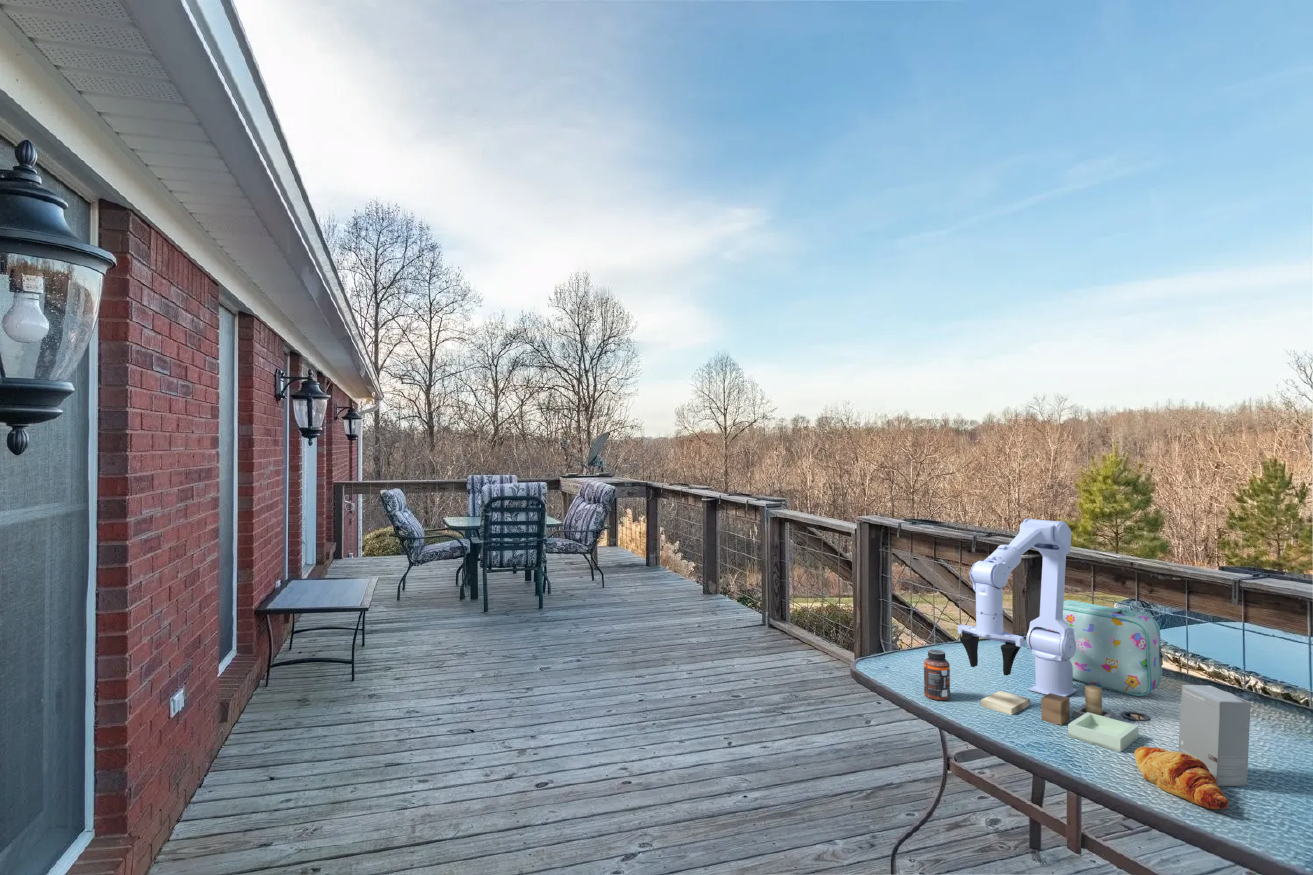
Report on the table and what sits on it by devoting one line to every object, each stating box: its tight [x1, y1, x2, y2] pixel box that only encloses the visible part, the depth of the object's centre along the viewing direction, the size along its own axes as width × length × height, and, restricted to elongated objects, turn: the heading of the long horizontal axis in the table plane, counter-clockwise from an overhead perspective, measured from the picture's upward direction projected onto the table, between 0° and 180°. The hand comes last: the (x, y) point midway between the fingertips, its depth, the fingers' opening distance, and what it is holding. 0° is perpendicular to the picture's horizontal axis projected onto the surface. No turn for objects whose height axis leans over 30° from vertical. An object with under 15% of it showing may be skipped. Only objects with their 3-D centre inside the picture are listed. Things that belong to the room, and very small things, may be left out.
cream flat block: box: [980, 690, 1031, 716], centre depth 156 cm, size 10×7×2 cm
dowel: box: [1084, 684, 1103, 716], centre depth 148 cm, size 3×3×7 cm
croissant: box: [1133, 746, 1230, 810], centre depth 118 cm, size 21×10×8 cm, turn 178°
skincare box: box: [1177, 684, 1252, 787], centre depth 122 cm, size 8×7×16 cm
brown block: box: [1040, 693, 1071, 726], centre depth 147 cm, size 5×4×5 cm
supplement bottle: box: [923, 649, 951, 702], centre depth 162 cm, size 6×6×11 cm
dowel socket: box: [1072, 704, 1116, 720], centre depth 148 cm, size 6×6×2 cm
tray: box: [1067, 712, 1139, 753], centre depth 138 cm, size 11×10×3 cm
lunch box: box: [1043, 599, 1168, 697], centre depth 171 cm, size 27×10×21 cm, turn 34°
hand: (990, 670), depth 153 cm, fingers open, 7 cm apart
